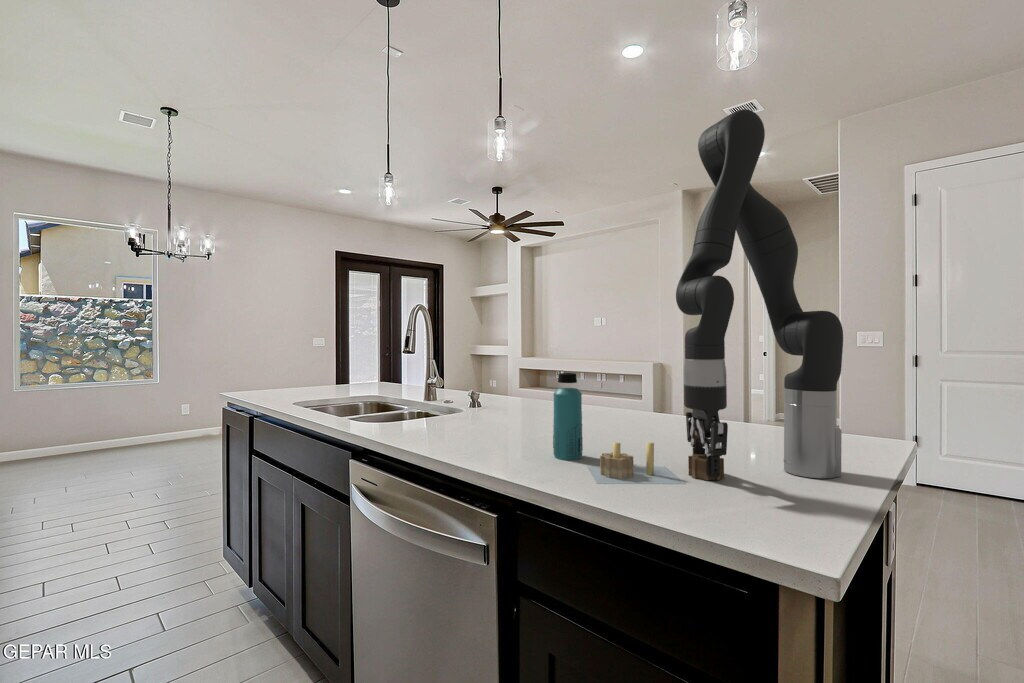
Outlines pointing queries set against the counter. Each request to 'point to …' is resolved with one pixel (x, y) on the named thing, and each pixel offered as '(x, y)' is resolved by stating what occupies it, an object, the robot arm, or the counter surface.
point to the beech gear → (616, 466)
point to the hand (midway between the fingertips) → (705, 471)
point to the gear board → (639, 471)
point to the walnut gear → (702, 467)
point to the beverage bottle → (567, 420)
